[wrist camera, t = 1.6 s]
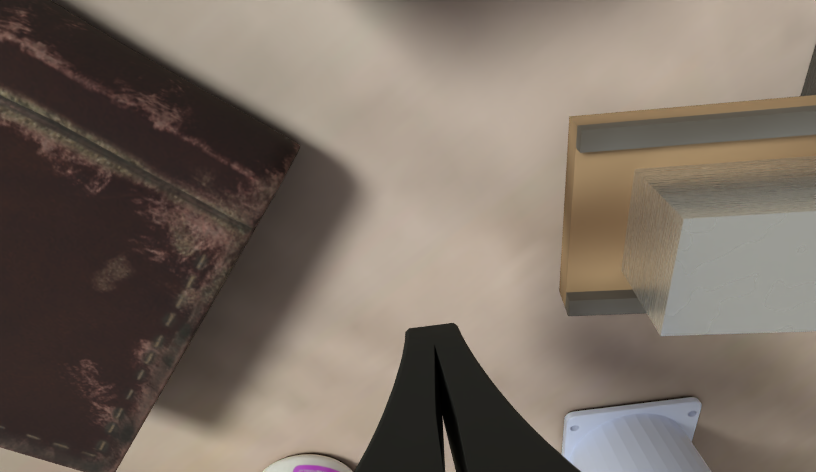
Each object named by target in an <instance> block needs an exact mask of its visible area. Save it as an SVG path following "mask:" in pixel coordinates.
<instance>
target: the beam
mask: <svg viewBox="0 0 816 472" xmlns="http://www.w3.org/2000/svg"><path fill="white" fill-rule="evenodd" d="M807 156H816V95H811V96H799V97H788V98H776V99H765V100H753V101H742V102H731V103H719V104H708V105H696V106H685V107H673V108H662V109H651V110H639V111H628V112H616V113H605V114H593V115H582V116H570V117H569V134H568V151H567V168H566V185H565V203H564V220H563V237H562V254H561V271H560V288H559V291H560V294H561V297H562V300H563V303H564V305H565V308H566V311H567V314H568V316H586V315H613V314H640V313H646V311H645V309H644V308H643V306H642V304H641V303H640V301H639V299H638V298H637V296H636V294H635V293H634V291H633V289H632V287H631V286H630V284H629V282H628V281H627V279H626V277H625V276H624V274H623V272H622V271H621V268H622V260H623V253H624V246H625V238H626V231H627V223H628V216H629V208H630V201H631V193H632V186H633V178H634V171H635V169H643V168H657V167H670V166H684V165H698V164H711V163H725V162H739V161H752V160H766V159H780V158H794V157H807Z"/></svg>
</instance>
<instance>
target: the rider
mask: <svg viewBox="0 0 816 472" xmlns="http://www.w3.org/2000/svg"><path fill="white" fill-rule="evenodd" d="M621 271H622V272H623V274H624V276H625V277H626V279H627V281H628V282H629V284H630V286H631V287H632V289H633V291H634V293H635V294H636V296H637V298H638V299H639V301H640V303H641V304H642V306H643V308H644V309H645V311H646V313H647V314H648V316H649V318H650V319H651V321H652V323H653V324H654V326H655V328H656V329H657V331H658V333H659V334H660V336H681V335H713V334H744V333H776V332H808V331H816V156H807V157H794V158H780V159H766V160H752V161H739V162H725V163H711V164H698V165H684V166H670V167H657V168H643V169H635V171H634V178H633V186H632V193H631V201H630V208H629V216H628V223H627V231H626V238H625V246H624V253H623V260H622V268H621Z"/></svg>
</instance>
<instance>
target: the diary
mask: <svg viewBox="0 0 816 472" xmlns="http://www.w3.org/2000/svg"><path fill="white" fill-rule="evenodd" d="M299 148H300V146H299V144H298V143H296V142H294V141H292V140H291V139H289V138H287V137H286V136H284V135H282V134H280V133H279V132H277V131H275V130H273V129H272V128H270V127H268V126H266V125H264V124H263V123H261V122H259V121H257V120H256V119H254V118H252V117H250V116H249V115H247V114H245V113H243V112H241V111H240V110H238V109H236V108H234V107H233V106H231V105H229V104H227V103H226V102H224V101H222V100H220V99H218V98H217V97H215V96H213V95H211V94H210V93H208V92H206V91H204V90H203V89H201V88H199V87H197V86H195V85H194V84H192V83H190V82H188V81H187V80H185V79H183V78H181V77H180V76H178V75H176V74H174V73H173V72H171V71H169V70H167V69H165V68H164V67H162V66H160V65H158V64H157V63H155V62H153V61H151V60H150V59H148V58H146V57H144V56H142V55H141V54H139V53H137V52H135V51H134V50H132V49H130V48H128V47H127V46H125V45H123V44H121V43H120V42H118V41H116V40H115V39H113V38H111V37H110V36H108V35H106V34H105V33H103V32H101V31H100V30H98V29H97V28H95V27H93V26H92V25H90V24H88V23H87V22H85V21H83V20H82V19H80V18H78V17H77V16H75V15H73V14H72V13H70V12H69V11H67V10H65V9H64V8H62V7H60V6H59V5H57V4H55V3H54V2H52V1H50V0H0V447H1V448H4V449H8V450H11V451H14V452H18V453H21V454H25V455H28V456H32V457H35V458H38V459H42V460H45V461H49V462H52V463H55V464H59V465H62V466H66V467H69V468H73V469H76V470H79V471H83V472H116V470H117V468H118V466H119V465H120V463H121V461H122V460H123V458H124V456H125V454H126V453H127V451H128V449H129V447H130V446H131V444H132V442H133V440H134V439H135V437H136V435H137V434H138V432H139V430H140V428H141V427H142V425H143V423H144V421H145V420H146V418H147V416H148V414H149V413H150V411H151V409H152V407H153V406H154V404H155V402H156V401H157V399H158V397H159V395H160V394H161V392H162V390H163V388H164V387H165V385H166V383H167V381H168V380H169V378H170V376H171V374H172V373H173V371H174V369H175V367H176V366H177V364H178V362H179V361H180V359H181V357H182V355H183V354H184V352H185V350H186V348H187V347H188V345H189V343H190V341H191V340H192V338H193V336H194V334H195V333H196V331H197V329H198V327H199V326H200V324H201V322H202V320H203V319H204V317H205V315H206V313H207V312H208V310H209V308H210V306H211V305H212V303H213V301H214V300H215V298H216V296H217V294H218V293H219V291H220V289H221V287H222V286H223V284H224V282H225V280H226V279H227V277H228V275H229V273H230V272H231V270H232V268H233V266H234V265H235V263H236V261H237V259H238V258H239V256H240V254H241V252H242V251H243V249H244V247H245V245H246V244H247V242H248V240H249V238H250V237H251V235H252V233H253V231H254V230H255V228H256V226H257V225H258V223H259V221H260V219H261V218H262V216H263V214H264V212H265V211H266V209H267V207H268V205H269V204H270V202H271V200H272V198H273V197H274V195H275V193H276V191H277V190H278V188H279V186H280V184H281V183H282V181H283V179H284V177H285V175H286V173H287V171H288V170H289V168H290V166H291V164H292V162H293V160H294V158H295V156H296V154H297V152H298V150H299Z"/></svg>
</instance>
